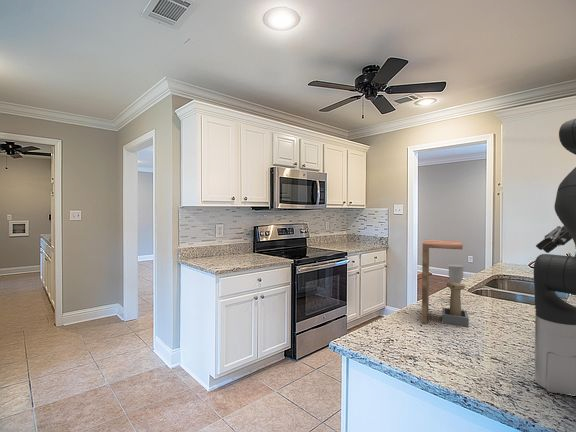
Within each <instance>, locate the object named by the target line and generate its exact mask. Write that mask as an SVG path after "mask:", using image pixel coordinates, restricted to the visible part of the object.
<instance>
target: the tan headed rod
mask: <svg viewBox="0 0 576 432" xmlns="http://www.w3.org/2000/svg"><path fill="white" fill-rule="evenodd" d="M446 287H447V288H448V289H450V300H449V308H450V315H455V316H461V310H462V302H461V301H462V300H461V299H462V298H461V291H463V290H464V289H465V287H466V284H464V283H461V282H460V283H453V282H451V281H449V282H446Z"/></svg>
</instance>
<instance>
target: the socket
mask: <svg viewBox="0 0 576 432" xmlns="http://www.w3.org/2000/svg"><path fill="white" fill-rule="evenodd" d="M441 309H442V312H441V314H442V315H441V324H442V325H443V324H444V325H450V326H457V327H465V328H469V320H470V319H469V318H470V317H469V313H468V309H467V310H465V309H461V316H455V315H450V307H441Z"/></svg>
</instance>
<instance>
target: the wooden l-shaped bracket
mask: <svg viewBox="0 0 576 432" xmlns="http://www.w3.org/2000/svg"><path fill="white" fill-rule="evenodd" d="M430 249H442V250H443V249H445V250H446V249H448V250H460V251H461V250H463V243H462V241H461V240H452V239H451V240H450V239H449V240H446V239H424V241H422V253H421V254H422V255H421V256H422V260H421V261H422V262H421V264H422V265H421V267H422V268H421V269H422V271H421V273H422V275H421V277H422V282H421V288H422V289H421V292H422V293H421V324H422V325H427V324H428V323H427V322H428V317H429V316H428V315H429V309H430V307H429V302H430V301H429V299H430V298H429V297H430V295H429V294H430V293H429V289H430V288H429V287H430Z"/></svg>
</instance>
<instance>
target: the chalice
mask: <svg viewBox="0 0 576 432" xmlns="http://www.w3.org/2000/svg"><path fill="white" fill-rule="evenodd" d="M447 267H448V277H449V279H450V282H453V283H460V284H461V282H462V281H463V278H464V269H465V265H462V264H447Z"/></svg>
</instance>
